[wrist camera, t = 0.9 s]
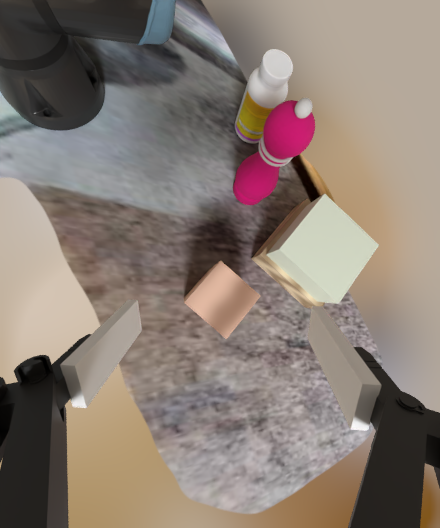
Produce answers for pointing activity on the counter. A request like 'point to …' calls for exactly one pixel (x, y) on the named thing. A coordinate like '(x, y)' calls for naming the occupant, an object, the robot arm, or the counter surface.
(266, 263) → the oak base block
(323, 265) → the sage top block
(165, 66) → the counter surface
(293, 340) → the counter surface
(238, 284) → the clay pillar block
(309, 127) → the pepper mill
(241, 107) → the supplement bottle
